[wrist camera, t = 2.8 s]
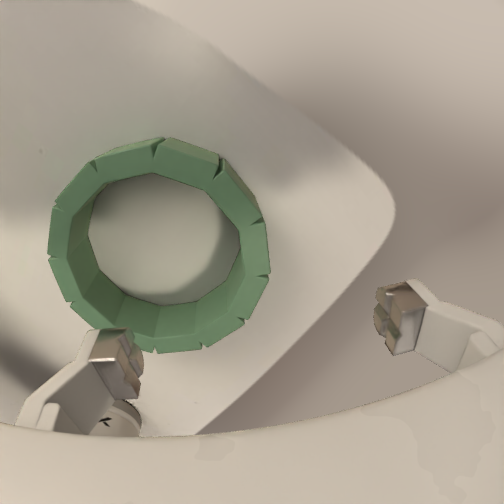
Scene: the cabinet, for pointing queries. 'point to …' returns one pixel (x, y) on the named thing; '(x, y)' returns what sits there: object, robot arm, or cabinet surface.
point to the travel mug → (119, 421)
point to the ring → (138, 311)
